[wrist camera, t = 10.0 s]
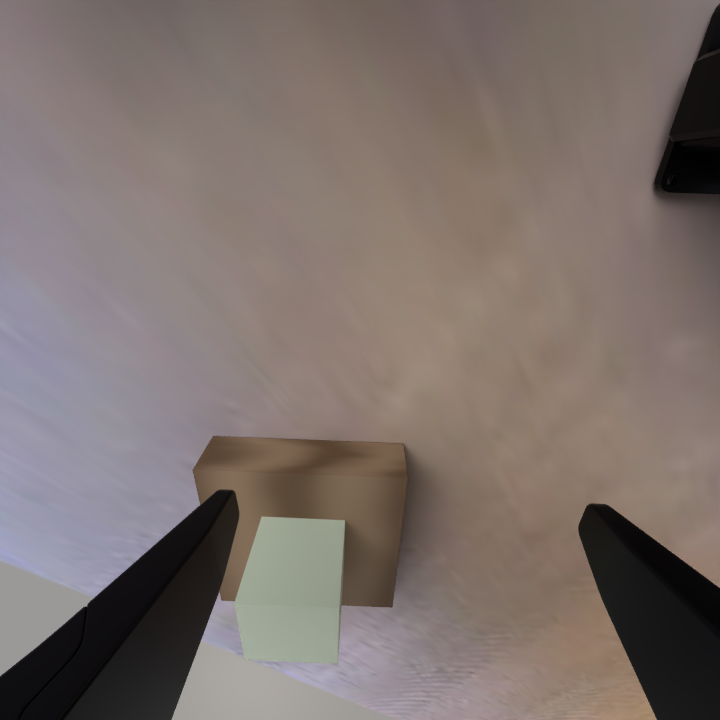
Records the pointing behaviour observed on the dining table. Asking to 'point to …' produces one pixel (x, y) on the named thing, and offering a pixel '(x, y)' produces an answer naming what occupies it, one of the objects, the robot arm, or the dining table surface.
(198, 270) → the dining table surface
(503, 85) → the dining table surface
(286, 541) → the sage block
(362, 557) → the walnut plinth
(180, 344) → the dining table surface
